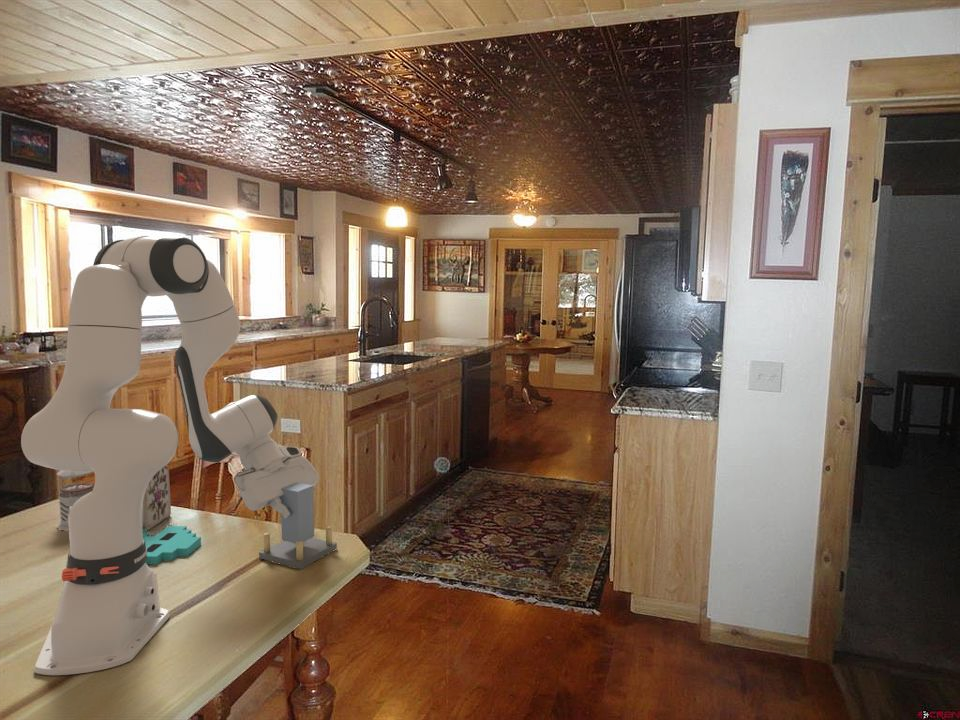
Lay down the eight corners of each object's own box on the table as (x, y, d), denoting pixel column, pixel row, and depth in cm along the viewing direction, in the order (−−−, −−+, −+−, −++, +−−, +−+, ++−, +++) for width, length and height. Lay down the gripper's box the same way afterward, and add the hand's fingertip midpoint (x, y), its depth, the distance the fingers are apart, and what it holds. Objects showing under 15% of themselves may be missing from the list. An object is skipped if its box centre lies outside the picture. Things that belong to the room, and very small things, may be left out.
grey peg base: (336, 549, 145) (336, 526, 144) (300, 569, 134) (299, 544, 133) (297, 540, 150) (296, 517, 149) (259, 558, 139) (258, 534, 139)
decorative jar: (147, 532, 154) (143, 461, 152) (101, 531, 155) (97, 460, 153) (172, 515, 166) (169, 449, 164) (129, 514, 167) (126, 448, 165)
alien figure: (80, 569, 134) (172, 571, 134) (79, 559, 134) (171, 561, 134) (133, 534, 154) (213, 535, 154) (133, 525, 154) (213, 526, 153)
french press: (67, 534, 153) (60, 433, 150) (45, 524, 159) (38, 427, 156) (109, 522, 161) (103, 426, 158) (86, 513, 167) (81, 421, 164)
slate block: (298, 544, 138) (297, 491, 137) (281, 540, 140) (280, 488, 139) (314, 536, 143) (313, 485, 141) (297, 532, 145) (296, 482, 144)
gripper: (237, 466, 133) (272, 518, 130) (303, 445, 152) (336, 490, 148) (223, 483, 136) (257, 534, 133) (290, 461, 154) (322, 506, 151)
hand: (299, 511), depth 141 cm, fingers closed on slate block, 5 cm apart
